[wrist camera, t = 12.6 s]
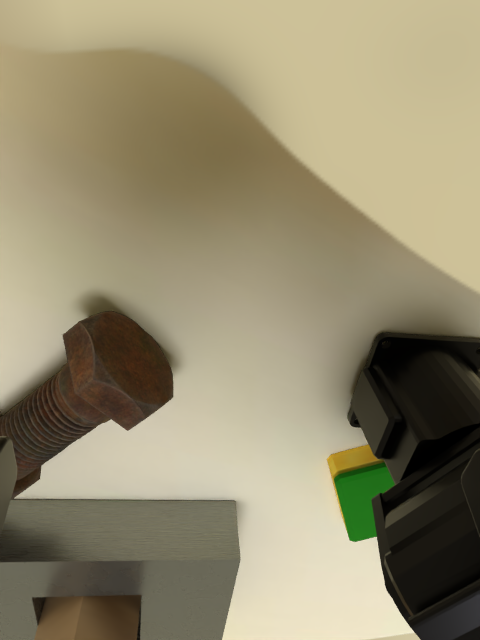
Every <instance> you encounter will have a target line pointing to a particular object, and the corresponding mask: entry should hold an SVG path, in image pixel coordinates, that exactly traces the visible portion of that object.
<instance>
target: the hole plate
mask: <svg viewBox="0 0 480 640" xmlns="http://www.w3.org/2000/svg"><path fill="white" fill-rule="evenodd" d="M239 563H240V549H239V538H238V527H237V516H236V505H235V501H157V500H10V504H9V507H8V511H7V515H6V518H5V522H4V525H3V529H2V532H1V536H0V640H34V638H35V635H36V631H37V627H38V624H39V620H40V616H41V613H42V609H43V605H44V602H45V598H46V597H70V596H112V595H141V601H140V611H139V621H138V631H137V640H222V637H223V632H224V628H225V624H226V619H227V615H228V611H229V606H230V602H231V598H232V593H233V589H234V585H235V581H236V576H237V572H238V568H239Z"/></svg>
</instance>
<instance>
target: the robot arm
mask: <svg viewBox="0 0 480 640" xmlns="http://www.w3.org/2000/svg"><path fill="white" fill-rule="evenodd" d="M384 341H388V342H387V343H385V344H382V343H383V342H384ZM478 348H480V339H474V338H459V337H444V336H429V335H414V334H399V333H382V334H379V335H378V336H377V337H376V338H375V340H374V343H373V346H372V349H371V352H370V355H369V358H368V360H367V363H366V366H365V367H364V368H363V370H362V371H361V374H360V377H359V380H358V382H357V385H356V388H355V391H354V394H353V397H352V400H351V409H350V412H349V415H348V420H349V423H350V425H351V426H352V427H359V428H362V430H363V433H364V435H365V437H366V439H367V441H368V444H369V446H370V448H371V450H372V453H373V455H374V456H375V457H376V458H377V459H382V460H384V462H385V464H386V466H387V468H388V471H389V473H390V475H391V477H392V479H393V481H394V484H395V485H394V486H393V487H391V488H390V489H388V490H387V491H385V492H384V493H383V494H382V493H379V494H378V495H376V496H375V497H373V498H372V499H371V501H372V508H373V514H374V521H375V527H376V534H377V540H378V546H379V553H380V559H381V566H382V571H383V575H384V580H385V586H386V589H387V591H388V593H389V594H390V596H391V597H392V598H393V600H394V602H395V604H396V606H397V608H398V609H399V611H400V613H401V614H402V616H403V617H404V619H405V620H406V622H407V623H408V624H409V626H410V627H411V628H412V630H413V631H414V632H415V633H416V634H417V635H418V637H419V638H420V639H421V640H480V349H478ZM477 349H478V350H477ZM355 419H356V420H355ZM16 478H17V465H16V459H15V454H14V449H13V444H12V440H11V439H10V438H9V437H7V436H0V536H1V532H2V529H3V525H4V522H5V518H6V515H7V511H8V507H9V504H10V500H11V497H12V493H13V490H14V486H15V482H16Z"/></svg>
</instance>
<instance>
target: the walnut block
mask: <svg viewBox="0 0 480 640" xmlns="http://www.w3.org/2000/svg"><path fill="white" fill-rule="evenodd" d="M140 601H141V595H112V596H70V597H46V598H45V602H44V605H43V609H42V613H41V616H40V620H39V624H38V627H37V631H36V635H35V638H34V640H137V631H138V621H139V611H140Z"/></svg>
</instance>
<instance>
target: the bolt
mask: <svg viewBox="0 0 480 640" xmlns="http://www.w3.org/2000/svg"><path fill="white" fill-rule="evenodd" d="M63 339H64V344H65V349H66V354H67V359H68V363H66V364H65V365H64V366H63V367H62V369H61V371H60V372H58V373H57V374H56V375H54V376H53V377H52V378H50V379H49V380H48V381H47V382H45V383H44V384H43V385H42V386H41V387H39V388H38V389H36V390H35V391H34V392H33V393H31V394H30V395H29V396H27V397H26V398H25V399H24V400H22V401H21V402H20V403H19V404H17V405H16V406H14V407H13V408H12V409H11V410H9V411H8V412H7V413H6V414H4V415H3V416H0V436H7V437H9V438H10V439H11V440H12V444H13V449H14V454H15V459H16V465H17V478H16V482H15V486H14V490H13V493H12V497H11V500H12V499H13V498H14V497H16V496H17V495H19V494H20V493H21V492H23V491H24V490H26V489H27V488H28V487H30V486H31V485H32V484H34V483H35V482H36V481H38V480H39V479H40V473H41V465H43V464H44V463H45V462H47V461H48V460H49V459H51V458H53V457H54V456H55V455H57V454H58V453H60V452H61V451H62V450H64V449H65V448H66V447H67V446H68V445H70V444H72V443H73V442H74V441H76V440H77V439H80V438H81V437H82V436H84V435H86V434H87V433H88V432H90V431H91V430H93V429H94V428H96V427H97V426H98V425H100V424H102V423H105V422H107V421H109V420H110V419H112V420H113V421H115V422H116V423H117V424H119V425H120V426H122V427H123V428H125V429H126V430H130V429H131V428H133V427H134V426H136V425H137V424H138V423H140V422H141V421H143V420H144V419H146V418H147V417H149V416H150V415H151V414H153V413H154V412H155V411H157V410H158V409H159V408H161V407H162V406H163V405H164V404H166V403H167V402H168V401H169V400H171V399H172V398H173V374H172V371H171V367H170V365H169V363H168V361H167V359H166V357H165V356H164V354H163V352H162V351H161V349H160V347H159V346H158V345H157V343H156V342H155V341H154V339H153V338H152V337H151V336H150V335H149V334H148V333H147V332H145V331H144V330H143V329H142V328H141V327H140V326H139V325H138V324H137V323H135V322H134V321H133V320H131V319H129V318H128V317H126V316H123V315H121V314H118V313H116V312H113V311H107V312H102V313H99V314H96V315H93V316H91V317H88V318H86V319H84V320H82V321H79V322H78V323H77V324H76V325H74V326H73V327H72V328H71V329H69V330H68V331H67V332H66V333H64V334H63Z"/></svg>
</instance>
